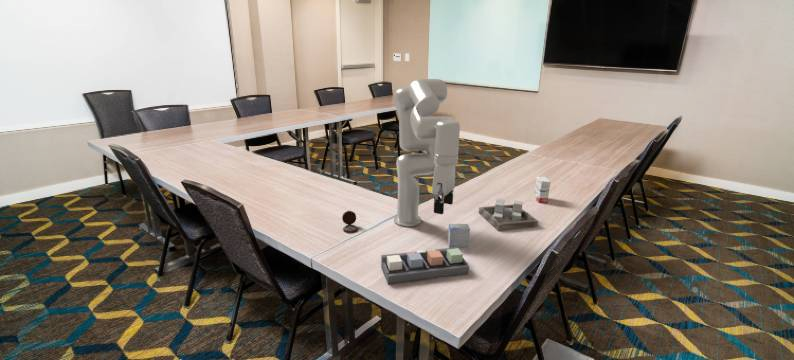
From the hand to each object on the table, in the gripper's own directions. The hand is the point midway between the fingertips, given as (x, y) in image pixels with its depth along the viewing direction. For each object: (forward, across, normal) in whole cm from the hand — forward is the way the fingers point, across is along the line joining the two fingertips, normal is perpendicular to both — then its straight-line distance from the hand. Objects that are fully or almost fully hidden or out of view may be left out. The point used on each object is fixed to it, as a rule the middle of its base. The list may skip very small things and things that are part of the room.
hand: (443, 208), depth 135 cm
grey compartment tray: (+25, 0, -6) cm, 26 cm away
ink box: (+24, -92, +24) cm, 98 cm away
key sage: (+22, -7, +3) cm, 23 cm away
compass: (+24, -17, -46) cm, 55 cm away
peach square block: (+22, -2, -3) cm, 22 cm away
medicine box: (+25, -24, -1) cm, 35 cm away
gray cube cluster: (+25, -58, +13) cm, 64 cm away
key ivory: (+22, +7, -14) cm, 27 cm away
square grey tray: (+24, -58, +13) cm, 64 cm away
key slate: (+22, +3, -9) cm, 24 cm away
